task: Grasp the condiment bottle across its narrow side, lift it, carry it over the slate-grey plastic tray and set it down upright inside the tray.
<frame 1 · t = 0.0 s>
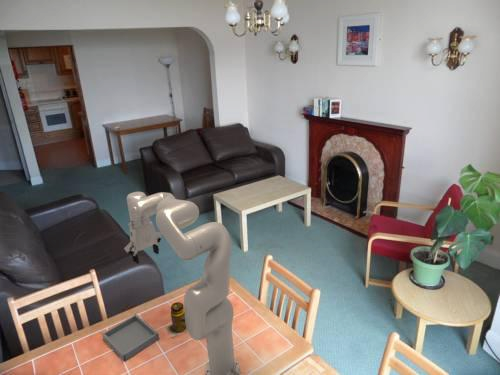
hand: (146, 257, 158), 31 cm above the table, tool pointing down, fingers open, 9 cm apart
tray: (131, 339, 157), on the table
condiment: (178, 329, 162), on the table
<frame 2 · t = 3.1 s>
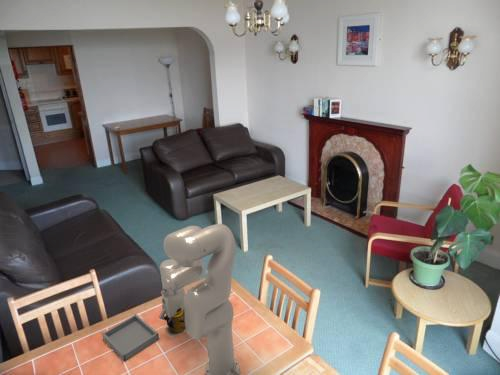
hand: (177, 322, 161), 3 cm above the table, tool pointing down, fingers closed on condiment, 6 cm apart
condiment: (176, 329, 161), on the table, touching gripper
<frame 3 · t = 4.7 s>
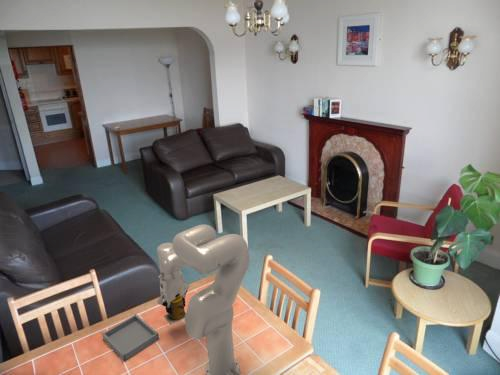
hand: (176, 308, 157), 11 cm above the table, tool pointing down, fingers closed on condiment, 6 cm apart
condiment: (176, 316, 158), point 8 cm above the table, touching gripper
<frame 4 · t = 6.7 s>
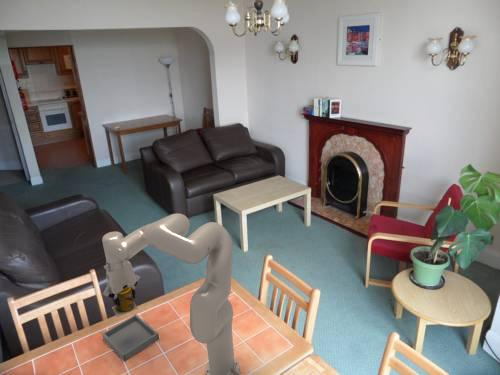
hand: (125, 300, 150), 20 cm above the table, tool pointing down, fingers closed on condiment, 6 cm apart
condiment: (124, 308, 151), point 16 cm above the table, touching gripper
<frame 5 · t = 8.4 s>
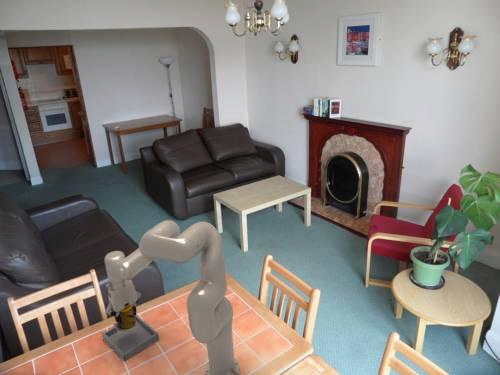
hand: (126, 317, 153), 11 cm above the table, tool pointing down, fingers closed on condiment, 6 cm apart
condiment: (126, 325, 154), point 8 cm above the table, touching gripper
when the fingers open (5 cm above the table, at t = 10.0 s): condiment drops 1 cm, resting on tray.
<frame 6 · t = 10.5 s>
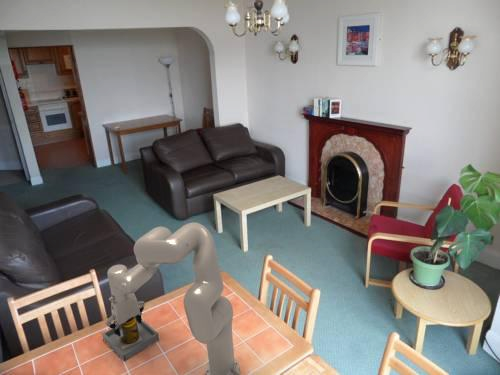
hand: (128, 328, 155), 6 cm above the table, tool pointing down, fingers open, 9 cm apart
condiment: (129, 340, 156), resting on tray
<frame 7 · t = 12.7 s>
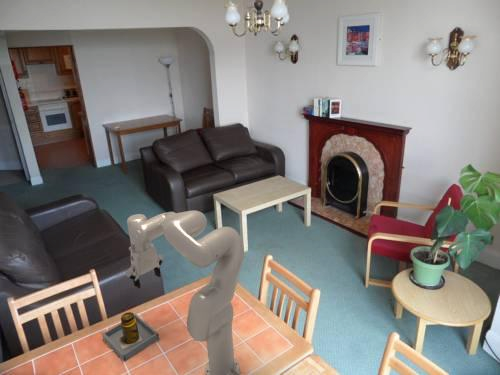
hand: (148, 281, 153), 25 cm above the table, tool pointing down, fingers open, 9 cm apart
nothing on the table moved.
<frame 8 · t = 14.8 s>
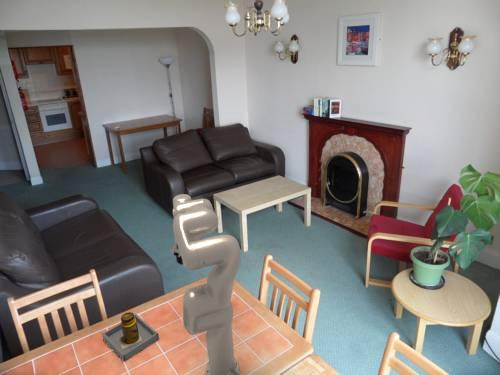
hand: (189, 258, 161), 28 cm above the table, tool pointing down, fingers open, 9 cm apart
nothing on the table moved.
at the end: condiment inside the target area on the tray (0.8 cm from its centre), point 0.3 cm above the tray's base; condiment tilted 0°; the gripper is holding nothing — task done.
